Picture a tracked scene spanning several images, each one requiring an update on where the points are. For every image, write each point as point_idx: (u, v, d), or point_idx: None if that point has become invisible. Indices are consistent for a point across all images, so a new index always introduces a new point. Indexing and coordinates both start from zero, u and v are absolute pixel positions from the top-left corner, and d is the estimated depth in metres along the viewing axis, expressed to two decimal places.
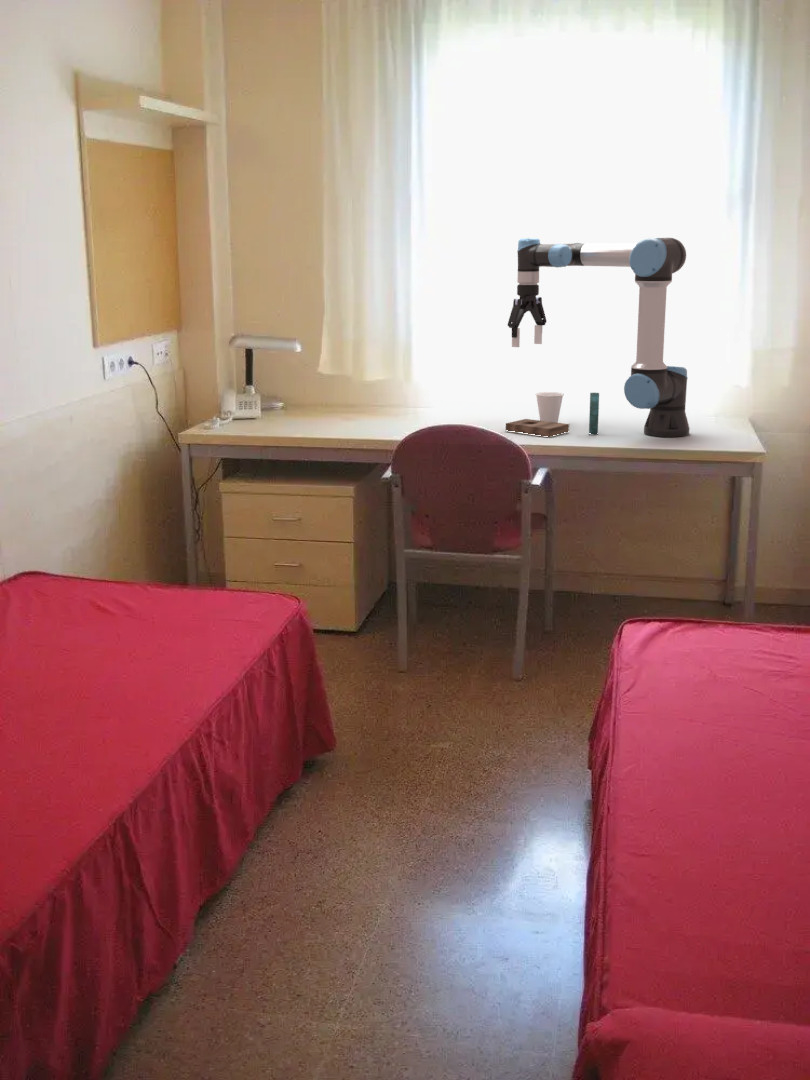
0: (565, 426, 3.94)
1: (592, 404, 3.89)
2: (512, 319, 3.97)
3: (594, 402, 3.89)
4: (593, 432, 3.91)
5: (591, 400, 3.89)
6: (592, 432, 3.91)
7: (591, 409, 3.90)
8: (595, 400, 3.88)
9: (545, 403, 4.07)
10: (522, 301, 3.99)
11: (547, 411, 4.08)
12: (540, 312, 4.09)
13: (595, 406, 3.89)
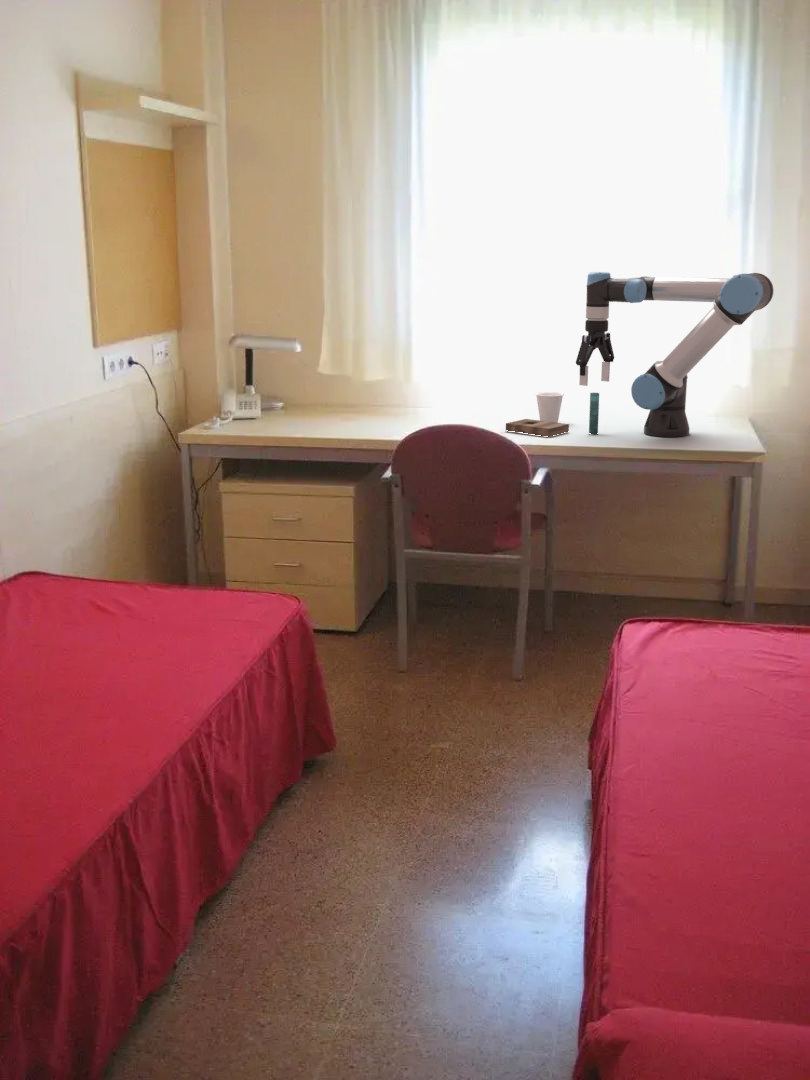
0: (565, 426, 3.94)
1: (592, 404, 3.89)
2: (581, 357, 3.79)
3: (594, 402, 3.89)
4: (593, 432, 3.91)
5: (591, 400, 3.89)
6: (592, 432, 3.91)
7: (591, 409, 3.90)
8: (595, 400, 3.88)
9: (545, 403, 4.07)
10: (591, 338, 3.81)
11: (547, 411, 4.08)
12: (608, 348, 3.90)
13: (595, 406, 3.89)
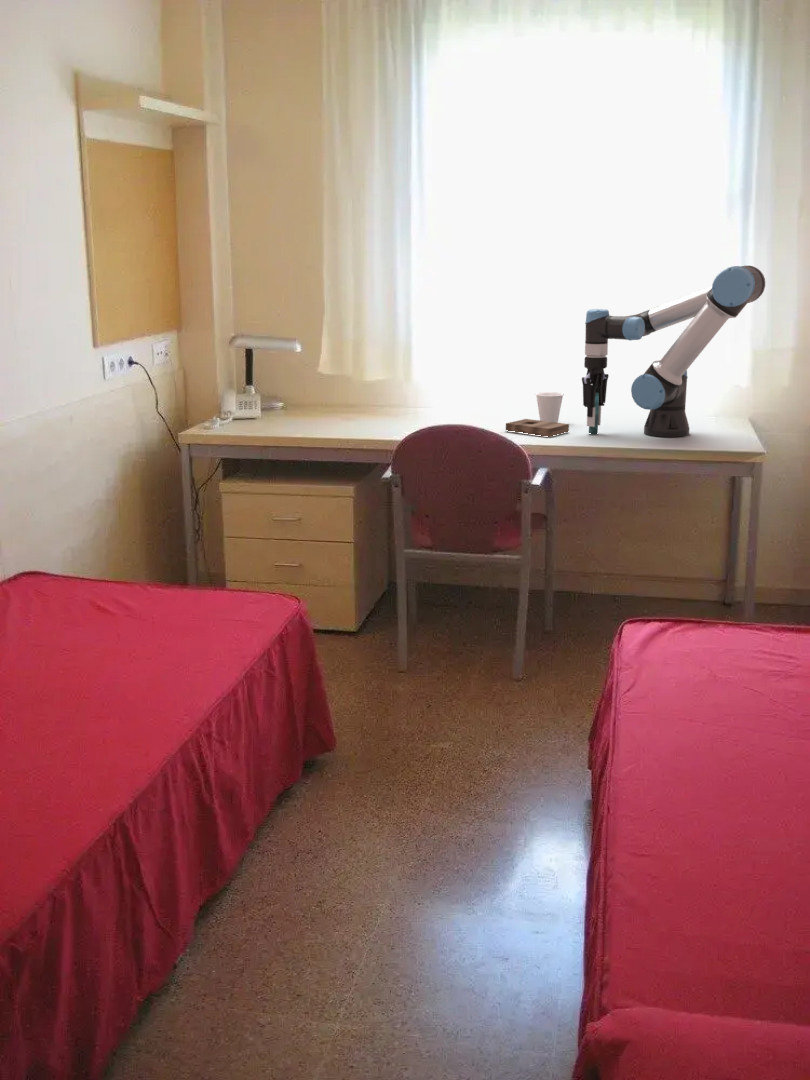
0: (565, 426, 3.94)
1: None
2: (586, 399, 3.86)
3: None
4: (593, 432, 3.91)
5: None
6: (592, 432, 3.91)
7: None
8: (595, 400, 3.88)
9: (545, 403, 4.07)
10: (590, 376, 3.84)
11: (547, 411, 4.08)
12: (602, 389, 3.92)
13: (595, 406, 3.89)
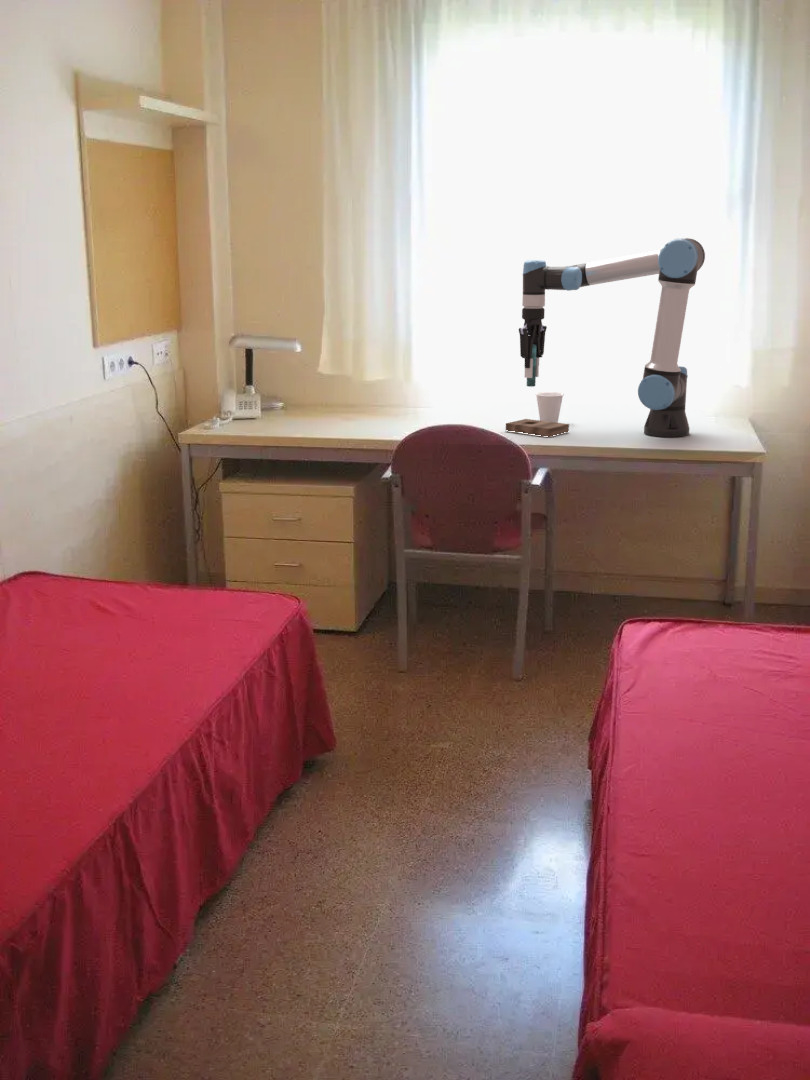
0: (565, 426, 3.94)
1: None
2: (523, 350, 3.88)
3: None
4: (530, 384, 3.93)
5: None
6: (529, 384, 3.93)
7: None
8: (532, 352, 3.90)
9: (545, 403, 4.07)
10: (527, 327, 3.86)
11: (547, 411, 4.08)
12: (540, 341, 3.94)
13: (532, 357, 3.91)
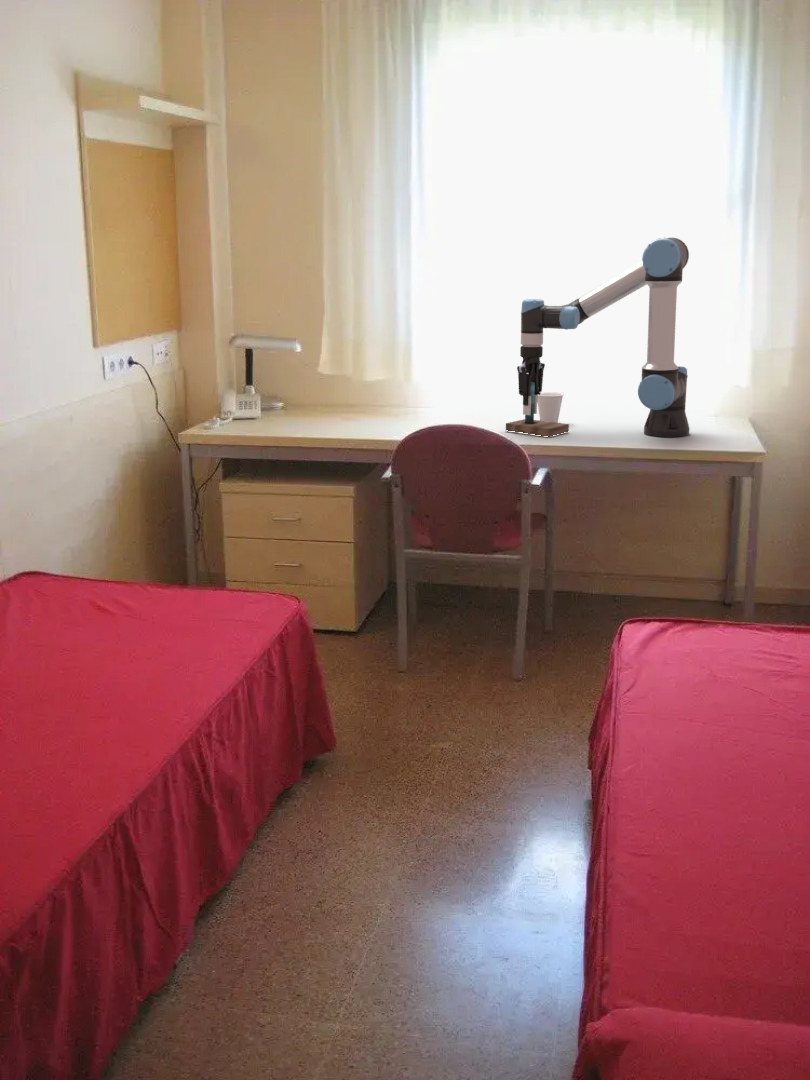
0: (565, 426, 3.94)
1: None
2: (522, 388, 3.91)
3: None
4: (529, 421, 3.97)
5: None
6: (528, 421, 3.97)
7: None
8: (531, 389, 3.94)
9: (545, 403, 4.07)
10: (526, 365, 3.90)
11: (547, 411, 4.08)
12: (539, 378, 3.97)
13: (531, 395, 3.94)
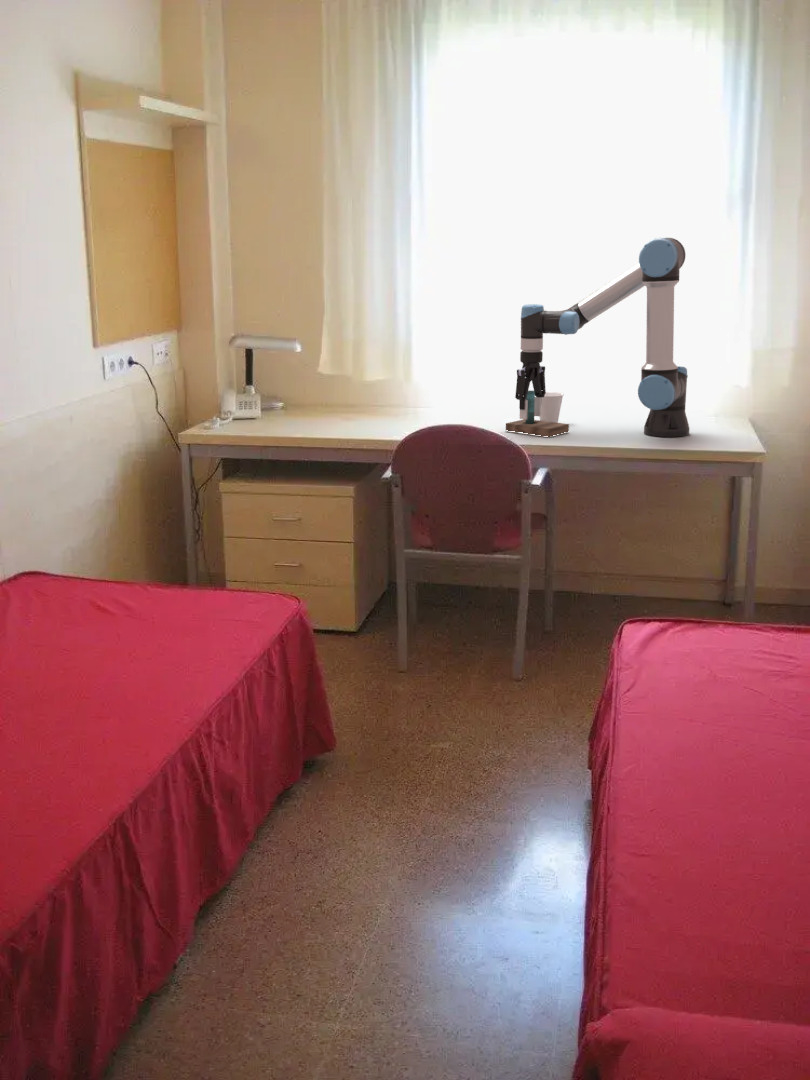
0: (565, 426, 3.94)
1: (528, 402, 3.95)
2: (519, 392, 3.90)
3: (529, 400, 3.95)
4: None
5: (527, 398, 3.95)
6: None
7: None
8: (531, 398, 3.95)
9: (545, 403, 4.07)
10: (525, 370, 3.90)
11: (547, 411, 4.08)
12: (541, 382, 3.98)
13: (531, 404, 3.95)
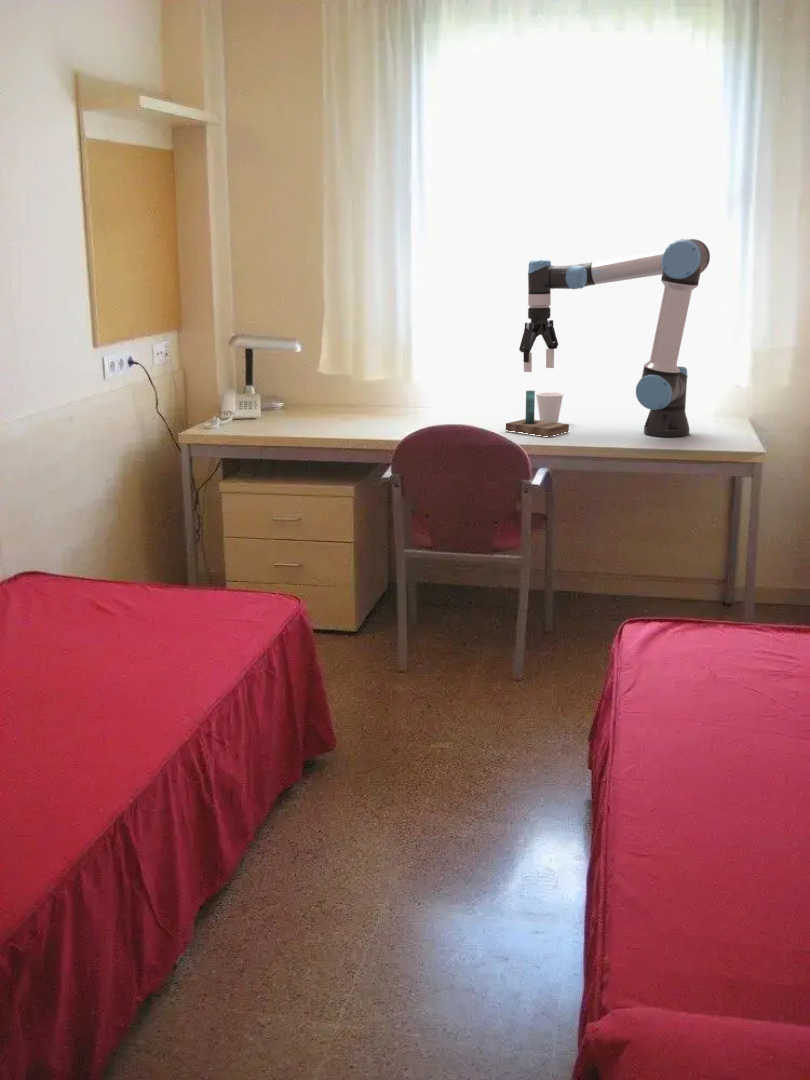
0: (565, 426, 3.94)
1: (528, 402, 3.95)
2: (524, 343, 3.85)
3: (529, 400, 3.95)
4: None
5: (527, 398, 3.95)
6: None
7: (527, 407, 3.96)
8: (531, 398, 3.95)
9: (545, 403, 4.07)
10: (534, 325, 3.87)
11: (547, 411, 4.08)
12: (552, 335, 3.96)
13: (531, 404, 3.95)
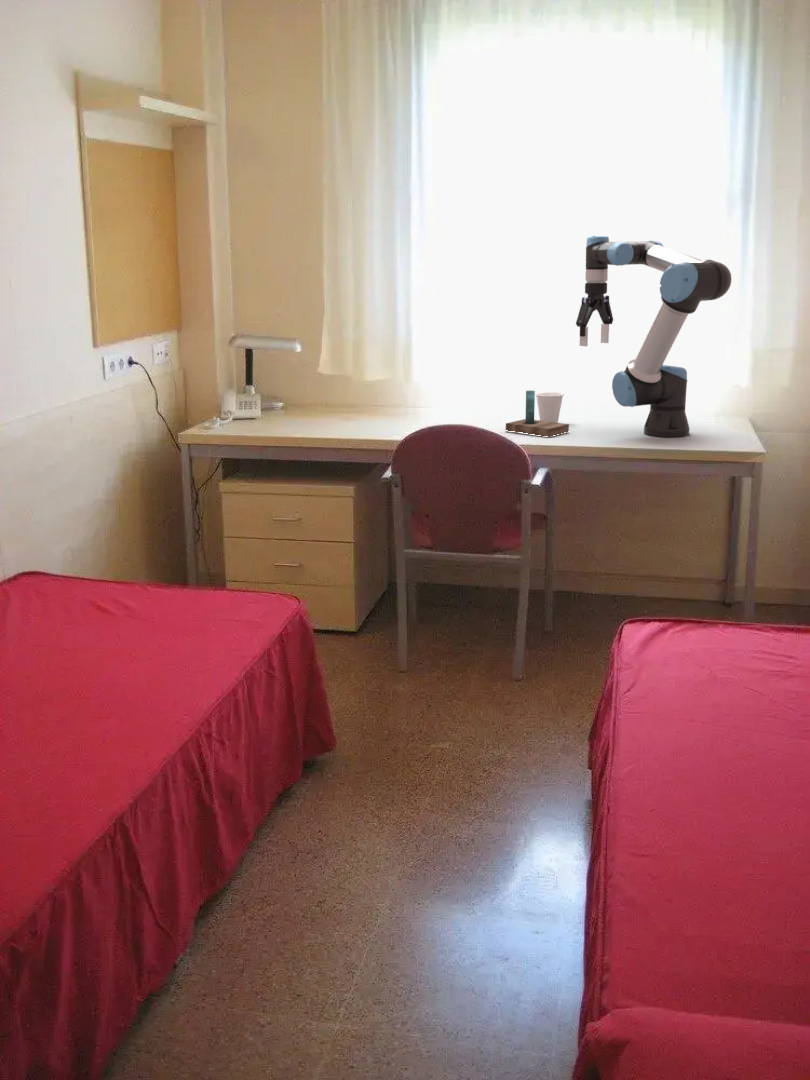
0: (565, 426, 3.94)
1: (528, 402, 3.95)
2: (581, 318, 3.91)
3: (529, 400, 3.95)
4: None
5: (527, 398, 3.95)
6: None
7: (527, 407, 3.96)
8: (531, 398, 3.95)
9: (545, 403, 4.07)
10: (590, 299, 3.93)
11: (547, 411, 4.08)
12: (607, 311, 4.02)
13: (531, 404, 3.95)
